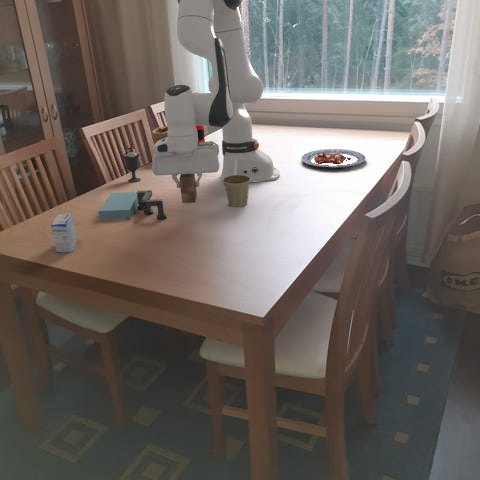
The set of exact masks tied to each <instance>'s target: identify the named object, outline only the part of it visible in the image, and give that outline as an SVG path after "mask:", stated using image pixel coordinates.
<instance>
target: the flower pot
mask: <svg viewBox="0 0 480 480" xmlns="http://www.w3.org/2000/svg"><path fill="white" fill-rule="evenodd" d="M250 180H251V178H250V177H249V176H246V175H231V176H227V177H225V178H223V179H222V178H221V182H222V184H223V186H224V188H225V193H226V197H227V202H228V206H230V207H234V208H240V207H244V206H245V205H247V204H248V198H249V188H250V187H249V186H250V184H251V182H250Z"/></svg>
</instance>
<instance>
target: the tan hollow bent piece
mask: <svg viewBox="0 0 480 480" xmlns="http://www.w3.org/2000/svg"><path fill="white" fill-rule="evenodd" d="M167 132H168V125H166V126H159V127H157V128H155V129H153V130H152V131H151V139H152V141H153V145H155V143H156V142H157V141H159V140H161V139H164V138H167V137H168V134H167Z"/></svg>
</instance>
